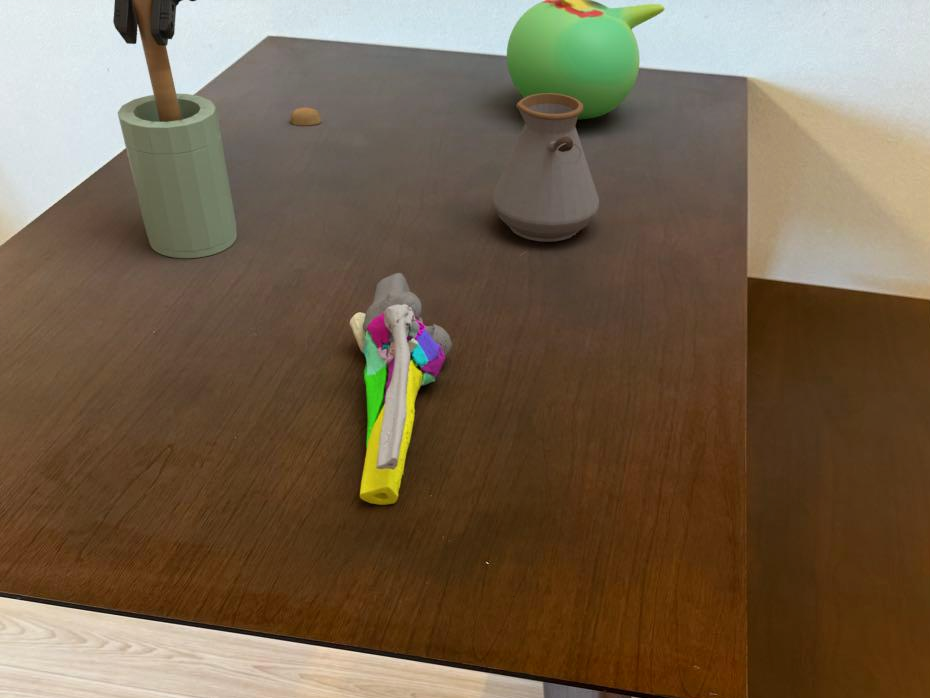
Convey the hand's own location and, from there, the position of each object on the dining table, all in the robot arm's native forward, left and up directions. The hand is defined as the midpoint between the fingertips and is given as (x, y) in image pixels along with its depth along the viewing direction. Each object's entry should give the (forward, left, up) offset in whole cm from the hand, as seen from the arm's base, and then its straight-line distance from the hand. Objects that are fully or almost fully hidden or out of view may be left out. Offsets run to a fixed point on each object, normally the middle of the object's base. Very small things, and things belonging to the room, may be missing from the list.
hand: (143, 39), depth 85 cm
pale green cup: (0, +2, -20) cm, 20 cm away
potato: (+8, +35, -20) cm, 41 cm away
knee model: (+22, -28, -20) cm, 41 cm away
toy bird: (+43, +40, -20) cm, 62 cm away
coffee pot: (+37, +1, -20) cm, 42 cm away
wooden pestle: (0, +2, -15) cm, 15 cm away
